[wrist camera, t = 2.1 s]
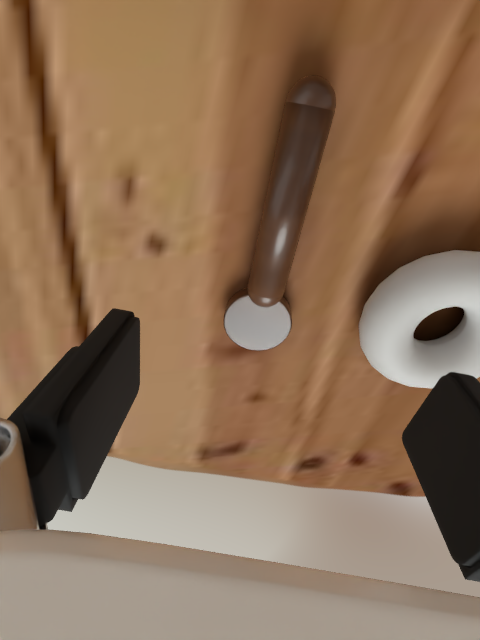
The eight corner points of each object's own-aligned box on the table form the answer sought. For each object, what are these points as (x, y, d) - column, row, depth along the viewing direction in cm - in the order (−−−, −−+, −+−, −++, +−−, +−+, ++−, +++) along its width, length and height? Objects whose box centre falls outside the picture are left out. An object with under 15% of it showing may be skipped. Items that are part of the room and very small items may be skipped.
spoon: (266, 68, 15) (266, 60, 13) (361, 88, 15) (375, 83, 13) (221, 335, 24) (217, 354, 22) (281, 346, 24) (283, 366, 22)
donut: (543, 290, 20) (433, 210, 18) (589, 319, 18) (465, 228, 15) (423, 383, 25) (324, 329, 23) (443, 417, 23) (333, 360, 20)
